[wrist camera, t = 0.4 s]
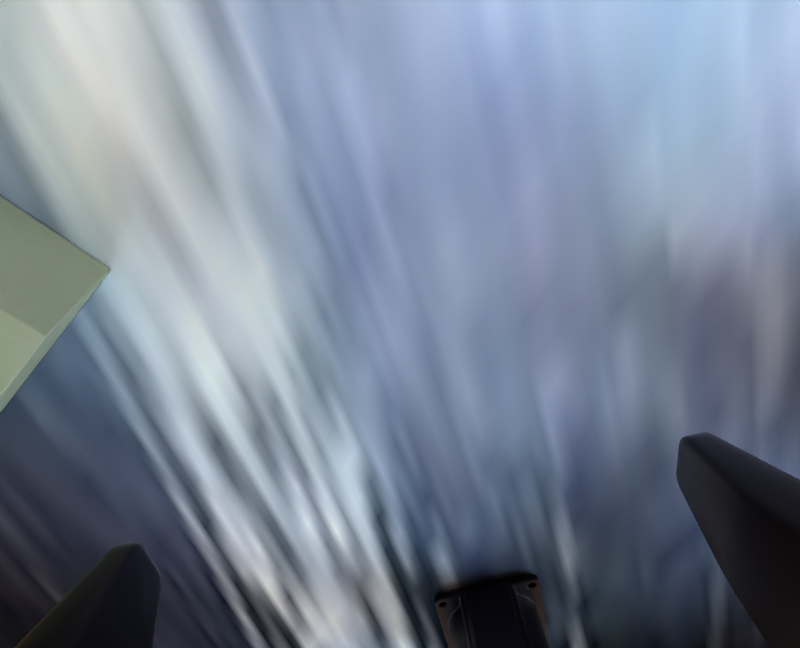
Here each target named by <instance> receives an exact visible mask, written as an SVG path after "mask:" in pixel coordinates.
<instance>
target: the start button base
mask: <svg viewBox="0 0 800 648" xmlns="http://www.w3.org/2000/svg"><path fill="white" fill-rule="evenodd" d="M109 272H110V269H109V268H108V267H106V266H105V265H103V264H102V263H100V262H99V261H97V260H96V259H94V258H93V257H91V256H90V255H88V254H87V253H85V252H84V251H82V250H81V249H79V248H78V247H76V246H75V245H73V244H72V243H70V242H69V241H67V240H66V239H64V238H63V237H61V236H60V235H58V234H57V233H55V232H54V231H52V230H51V229H49V228H48V227H46V226H45V225H43V224H42V223H40V222H39V221H37V220H36V219H34V218H33V217H31V216H30V215H28V214H27V213H25V212H24V211H22V210H21V209H19V208H18V207H16V206H15V205H13V204H12V203H10V202H9V201H7V200H6V199H4V198H3V197H1V196H0V412H1V411H2V410H3V409H4V407H5V406H6V405H7V403H8V402H9V401H10V400H11V398H12V397H13V396H14V394H15V393H16V392H17V391H18V389H19V388H20V387H21V385H22V384H23V383H24V381H25V380H26V379H27V378H28V376H29V375H30V374H31V372H32V371H33V370H34V369H35V367H36V366H37V365H38V363H39V362H40V361H41V360H42V358H43V357H44V356H45V354H46V353H47V352H48V351H49V349H50V348H51V347H52V345H53V344H54V343H55V342H56V340H57V339H58V338H59V336H60V335H61V334H62V333H63V331H64V330H65V329H66V327H67V326H68V325H69V324H70V322H71V321H72V320H73V318H74V317H75V316H76V315H77V313H78V312H79V311H80V309H81V308H82V307H83V306H84V304H85V303H86V302H87V300H88V299H89V298H90V296H91V295H92V294H93V293H94V291H95V290H96V289H97V287H98V286H99V285H100V284H101V282H102V281H103V280H104V278H105V277H106V276H107V275H108V273H109Z"/></svg>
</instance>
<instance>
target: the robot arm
mask: <svg viewBox="0 0 800 648" xmlns="http://www.w3.org/2000/svg"><path fill="white" fill-rule="evenodd" d="M676 475H677V481H678V484H679V487H680V489H681V491H682V493H683V495H684V497H685V499H686V501H687V503H688V505H689V507H690V509H691V511H692V513H693V515H694V517H695V519H696V521H697V523H698V525H699V527H700V529H701V531H702V533H703V535H704V536H705V538H706V540H707V542H708V544H709V546H710V548H711V550H712V552H713V554H714V556H715V558H716V560H717V562H718V564H719V566H720V568H721V570H722V572H723V573H724V575H725V577H726V579H727V580H728V582H729V584H730V585H731V587H732V589H733V590H734V592H735V593H736V595H737V597H738V598H739V600H740V601H741V603H742V604H743V606H744V608H745V609H746V611H747V612H748V614H749V615H750V617H751V618H752V620H753V622H754V623H755V625H756V626H757V628H758V629H759V631H760V633H761V634H762V636H763V637H764V639H765V640H766V642H767V644H768V645H769V647H770V648H800V480H799V479H797V478H795V477H793V476H791V475H789V474H787V473H785V472H784V471H782V470H780V469H778V468H776V467H774V466H772V465H770V464H768V463H766V462H764V461H762V460H760V459H759V458H757V457H755V456H753V455H751V454H749V453H747V452H745V451H743V450H741V449H739V448H737V447H735V446H734V445H732V444H730V443H728V442H726V441H724V440H722V439H720V438H718V437H716V436H714V435H712V434H709V433H699V434H694V435H689V436H685V437H683V438H682V439H681V440H680V443H679V450H678V460H677V471H676ZM161 586H162V581H161V575H160V572H159V570H158V569H157V567H156V566H155V564H154V562H153V561H152V559H151V558H150V556H149V555H148V553H147V551H146V550H145V548H144V547H143V546H142V545H141V544H139V543H130V544H125V545H119V546H116V547H113V548H112V549H110V550H109V551H108V552H107V553H106V554H105V555H104V556H103V557H102V558H101V559H100V560H99V561H98V562H97V563H96V564H95V565H94V566H93V567H92V568H91V570H90V571H89V572H88V573H87V574H86V575H85V576H84V577H83V578H82V579H81V580H80V581H79V582H78V583H77V584H76V585H75V586H74V587H73V588H72V589H71V590H70V591H69V592H68V593H67V594H66V595H65V596H64V597H63V598H62V599H61V600H60V601H59V602H58V603H57V604H56V605H55V606H54V608H53V609H52V610H51V611H50V612H49V613H48V614H47V615H46V616H45V617H44V618H43V619H42V620H41V621H40V622H39V623H38V624H37V625H36V626H35V627H34V628H33V629H32V630H31V631H30V632H29V633H28V634H27V635H26V636H25V637H24V638H23V639H22V640H21V641H20V642H19V643H18V645H17V646H16V647H15V648H153V642H154V635H155V628H156V621H157V615H158V608H159V601H160V594H161ZM434 601H435V607H436V610H437V613H438V616H439V619H440V622H441V625H442V628H443V631H444V634H445V637H446V641H447V644H448V647H449V648H549V645H548V642H547V639H546V637H547V634H548V633H547V627H546V620H545V614H544V607H543V601H542V594H541V588H540V582H539V579H538V577H537V576H536V575H534V574H529V575H524V576H519V577H515V578H510V579H505V580H501V581H496V582H491V583H487V584H482V585H477V586H473V587H468V588H464V589H459V590H454V591H450V592H445V593H440V594H438V595H436V596H435V598H434Z"/></svg>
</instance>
